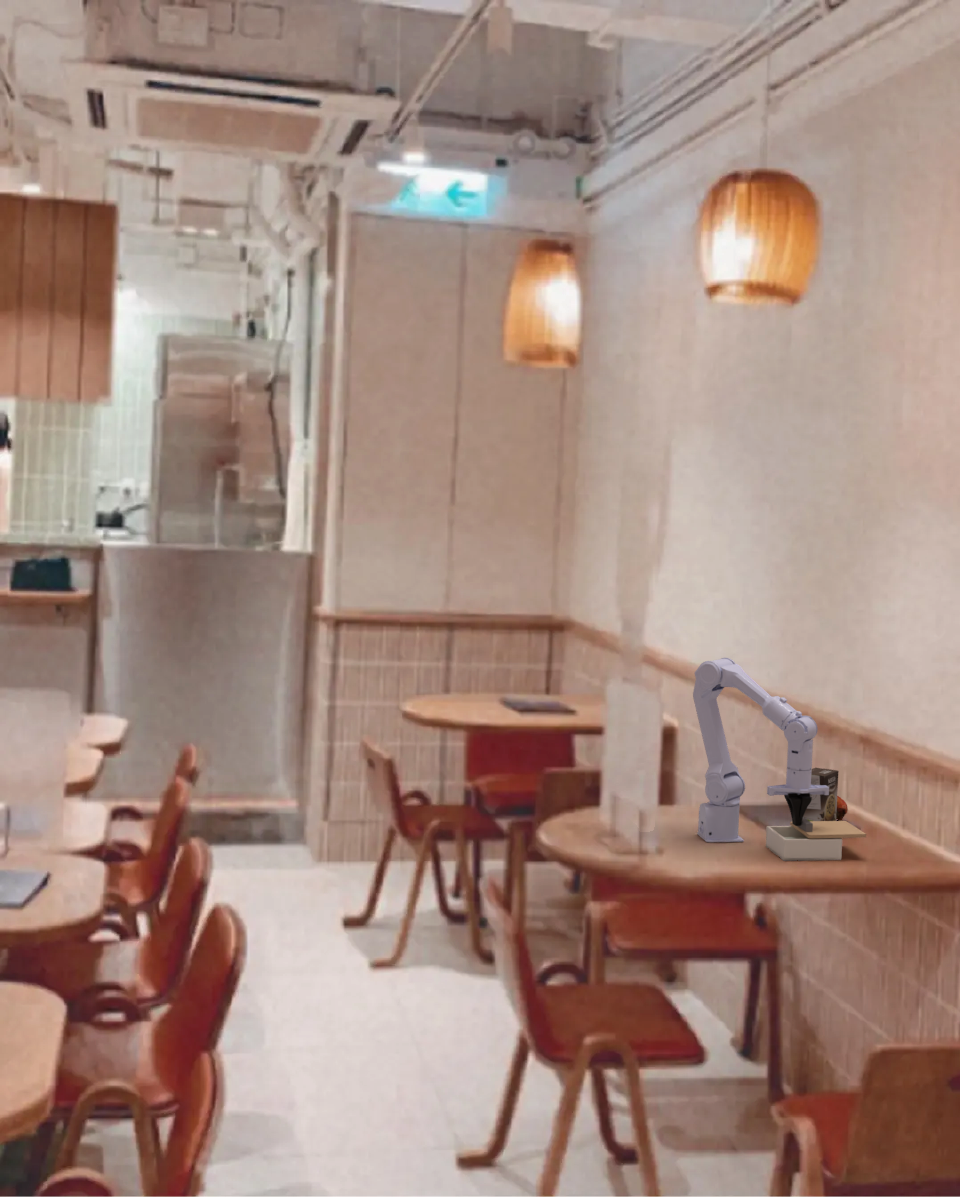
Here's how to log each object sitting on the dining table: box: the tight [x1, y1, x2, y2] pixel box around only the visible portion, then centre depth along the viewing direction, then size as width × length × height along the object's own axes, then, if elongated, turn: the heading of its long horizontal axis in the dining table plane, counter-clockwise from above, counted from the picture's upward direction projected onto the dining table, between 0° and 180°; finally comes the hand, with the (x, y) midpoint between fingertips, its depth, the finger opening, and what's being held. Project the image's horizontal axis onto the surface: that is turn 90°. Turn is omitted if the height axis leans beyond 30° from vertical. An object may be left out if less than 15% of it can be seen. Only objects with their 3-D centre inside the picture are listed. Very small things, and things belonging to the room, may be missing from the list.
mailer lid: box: [789, 817, 867, 839], centre depth 325 cm, size 14×12×3 cm
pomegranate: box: [836, 795, 849, 821], centre depth 355 cm, size 7×7×10 cm
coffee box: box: [803, 767, 839, 821], centre depth 341 cm, size 9×6×16 cm
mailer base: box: [765, 825, 843, 862], centre depth 324 cm, size 14×12×5 cm
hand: (796, 824), depth 324 cm, fingers closed
